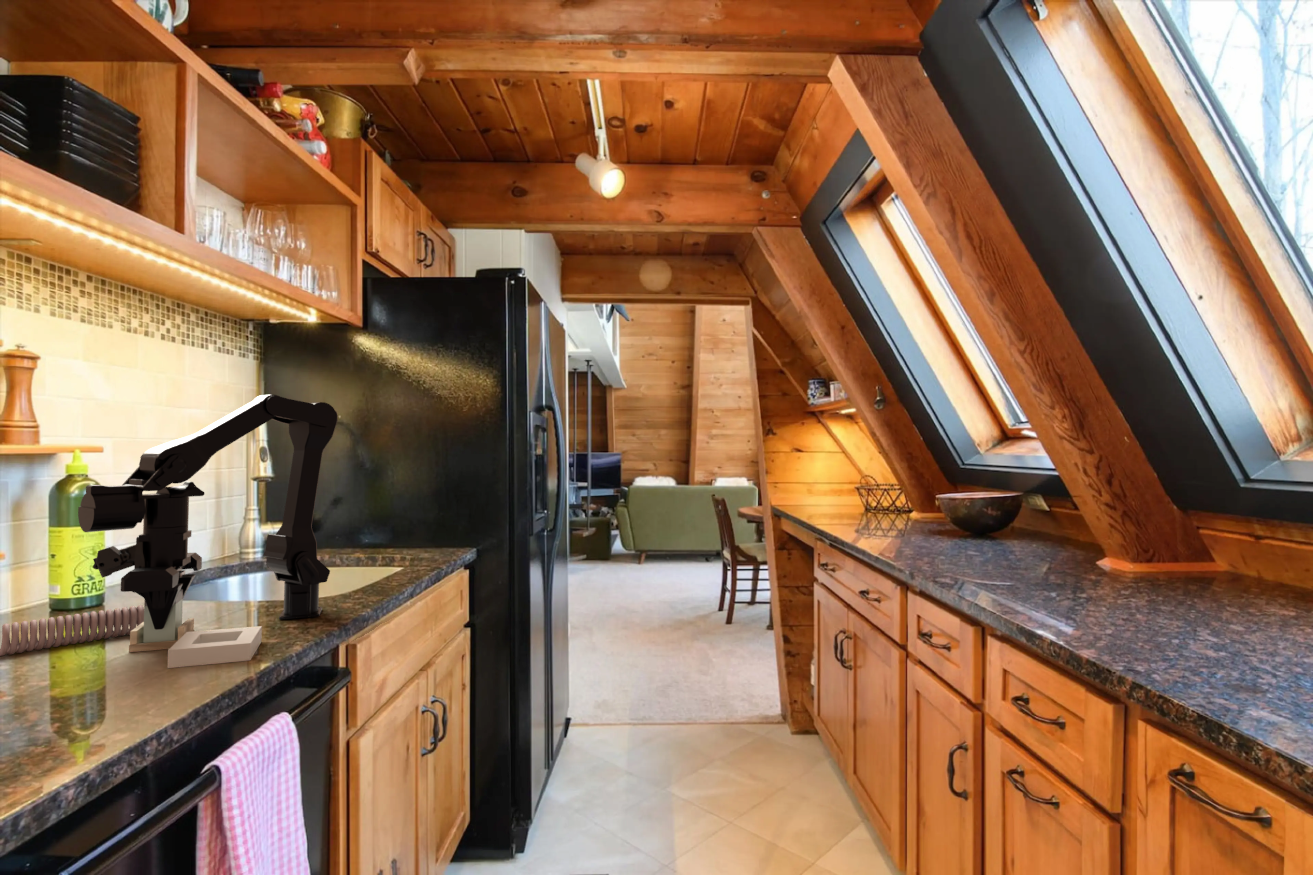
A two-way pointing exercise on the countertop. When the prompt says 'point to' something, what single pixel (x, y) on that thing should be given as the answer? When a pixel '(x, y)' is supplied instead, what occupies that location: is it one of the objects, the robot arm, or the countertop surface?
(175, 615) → the plug
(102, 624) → the coil
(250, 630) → the plate
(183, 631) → the light brown square holder
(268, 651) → the countertop surface
